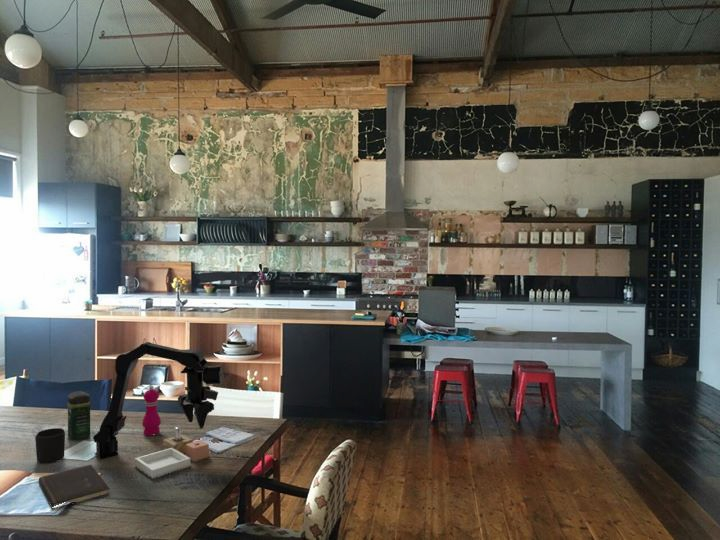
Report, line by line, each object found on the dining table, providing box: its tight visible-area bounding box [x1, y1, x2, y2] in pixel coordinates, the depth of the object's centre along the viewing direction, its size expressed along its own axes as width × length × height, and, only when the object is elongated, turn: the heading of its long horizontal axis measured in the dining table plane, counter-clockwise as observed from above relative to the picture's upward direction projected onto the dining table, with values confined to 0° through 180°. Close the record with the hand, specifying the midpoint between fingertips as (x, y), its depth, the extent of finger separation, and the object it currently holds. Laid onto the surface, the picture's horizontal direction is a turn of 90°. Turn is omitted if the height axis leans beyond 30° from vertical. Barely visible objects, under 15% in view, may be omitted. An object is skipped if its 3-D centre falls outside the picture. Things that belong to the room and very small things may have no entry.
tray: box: [134, 448, 192, 480], centre depth 186 cm, size 14×14×3 cm
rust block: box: [185, 440, 210, 462], centre depth 194 cm, size 6×6×5 cm
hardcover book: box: [38, 464, 111, 508], centre depth 169 cm, size 16×23×2 cm
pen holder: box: [34, 427, 66, 465], centre depth 191 cm, size 9×9×10 cm
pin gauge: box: [173, 426, 182, 442], centre depth 200 cm, size 2×2×8 cm
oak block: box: [162, 433, 194, 454], centre depth 201 cm, size 8×8×4 cm
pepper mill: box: [141, 385, 162, 436], centre depth 218 cm, size 7×7×20 cm
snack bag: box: [193, 426, 255, 454], centre depth 211 cm, size 19×20×2 cm
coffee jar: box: [67, 390, 91, 441], centre depth 212 cm, size 10×8×19 cm
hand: (196, 425), depth 195 cm, fingers open, 9 cm apart
